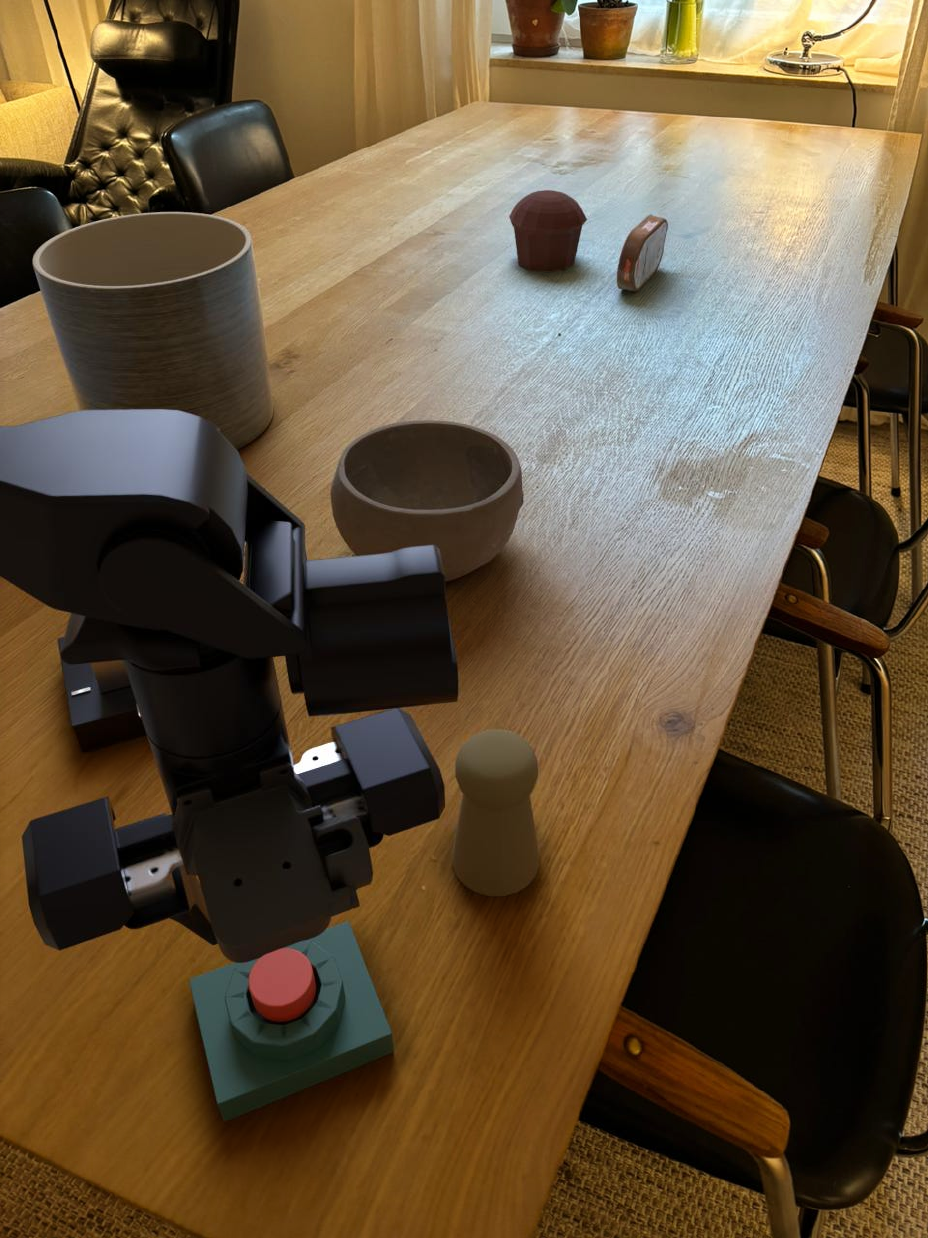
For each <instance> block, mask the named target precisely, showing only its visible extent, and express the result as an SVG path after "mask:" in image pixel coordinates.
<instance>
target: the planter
mask: <svg viewBox="0 0 928 1238" xmlns="http://www.w3.org/2000/svg"><path fill="white" fill-rule="evenodd" d="M32 267H33V270H34V273H35V277H36V280H37V284H38V286H39V289H40V290H39V291H40V293H41V296H42V299H43V303H44V306H45V309H46V312H47V315H48V318H49V319H48V320H49V322H50V325H51V328H52V332H53V335H54V339H55V342H56V344H57V348H58V351H59V353H60V357H61V360H62V363H63V366H64V369H65V372H66V374H67V378H68V380H69V383H70V386H71V389H72V392H73V396H74V399H75V402H76V404H77V408H78V411H79V410H130V409H166V410H178V411H183V412H186V413H190V414H193V415H196V416H200V417H202V418H204V419H205V420H207V421H209V422H211V423H213V424H215V425H216V426H217V427H218V428H219V430H220V433H221V434H222V435H223V436H224V437H225V438H226V439H227V440H228V441H229V442H230V443H231V444H232V445H233V447H234V448H235V449H236V450H237V451H238V450H240V449H242V448H243V447H245V446H247V445H248V444H250V443H251V442H253V441H255V440H256V439H257V438H258V437H260V435H262V433H264V431H265V430H266V429H267V428H268V426H269V425H270V423H271V421H272V420H273V419H272V418H273V416H274V399H273V392H272V386H271V376H270V368H269V360H268V359H269V358H268V350H267V341H266V333H265V325H264V317H263V308H262V302H261V301H262V300H261V293H260V287H259V286H260V285H259V279H258V271H257V264H256V256H255V251H254V242H253V237H252V235H251V233H250V231H249V230H248V228H246V227H245V226H243V225H242V224H240V223H239V222H236V221H234V220H232V219H229V218H226V217H222V216H218V215H213V214H207V213H206V214H205V213H199V212H187V211H186V212H184V211H160V212H144V213H143V212H142V213H133V214H127V215H126V214H125V215H120V216H114V217H110V218H105V219H100V220H96V221H92V222H89V223H85V224H82V225H79V226H76V227H74V228H71V229H68V230H66V231H63V232H61V233H59V234H57V235H55V236H54V237H52V238H50V239H49V240H47V241H45V242H44V243H43V244H41V245H40V246H39V247H38V249H37V250H36V251H35V252H34V254H33V257H32Z"/></svg>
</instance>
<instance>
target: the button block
mask: <svg viewBox="0 0 928 1238" xmlns="http://www.w3.org/2000/svg"><path fill="white" fill-rule="evenodd" d="M284 948H287V949H294V950H297V951H299V952H301V953H302V954H304V955H305V956H306V957H307V958H308V959H309V961H310V963H311V965H312V969H313V973H314V978H315V983H316V994H315V998H314V1000H313V1002H312V1004H311V1006H310V1007H309V1008H308V1010H307V1011H306V1012H305V1013H304V1014H302V1015H301V1016H299V1017H298V1018H296V1019H294V1020H291V1021H287V1022H273V1021H270V1020H267V1019H265V1018H264V1017H262V1016H261V1015H260V1014H259V1013H258V1012H257V1010H256V1009H255V1006H254V1004H253V1000H252V997H251V993H250V990H249V985H248V980H249V975H250V972H251V970H252V968H253V966H254V965H255V963H256V962H257V961H258V960H259V959H260V958H261V957H262V956H261V957H260V958H258V959H255V960H252V961H249V962H245V963H236V962H232V963H230V964H227V965H223V966H221V967H217V968H215V969H213V970H211V971H208V972H205V973H202V974H200V975H199V974H198V975H197V976H194V977H192V978H189V979H188V984H189V987H190V991H191V996H192V1001H193V1006H194V1009H195V1014H196V1018H197V1023H198V1027H199V1031H200V1035H201V1040H202V1044H203V1049H204V1053H205V1057H206V1061H207V1065H208V1070H209V1073H210V1074H209V1075H210V1079H211V1084H212V1088H213V1092H214V1096H215V1101H216V1105H217V1107H218V1110H219V1113H220V1115H221V1118H222V1120H223V1122H224V1123H225V1122H228V1121H231V1120H234V1119H235V1118H238V1117H241V1116H243V1115H245V1114H248V1113H250V1112H253V1111H255V1110H258V1109H260V1108H262V1107H265V1106H267V1105H269V1104H272V1103H274V1102H277V1101H279V1100H281V1099H284V1098H287V1097H289V1096H292V1095H294V1094H296V1093H299V1092H301V1091H303V1090H306V1089H308V1088H310V1087H311V1088H312V1087H313V1086H315V1085H318V1084H320V1083H323V1082H325V1081H327V1080H330V1079H332V1078H334V1077H337V1076H340V1075H342V1074H344V1073H347V1072H349V1071H352V1070H354V1069H356V1068H359V1067H361V1066H364V1065H366V1064H368V1063H372V1062H374V1061H376V1060H379V1059H382V1058H383V1057H386V1056H388V1055H390V1054H393V1053H395V1048H394V1047H395V1046H394V1038H393V1032H392V1030H391V1027H390V1025H389V1022H388V1020H387V1016H386V1014H385V1012H384V1009H383V1006H382V1004H381V1001H380V999H379V996H378V993H377V991H376V988H375V985H374V982H373V979H372V977H371V975H370V973H369V970H368V967H367V965H366V962H365V960H364V957H363V953H362V952H361V949H360V946H359V943H358V941H357V938H356V936H355V934H354V931H353V928H352V925H351V923H350V921H349V920H346V921H344V922H341V923H339V924H336V925H333V926H330V927H327V928H326V930H325V931H324V932H323V933H321V934H320V935H318V936H316V937H314V938H312V939H309V940H306V941H300V942H298V943H295V944H292V945H290V946H287V947H284ZM281 949H283V948H281ZM263 956H264V955H263Z"/></svg>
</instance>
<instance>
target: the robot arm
mask: <svg viewBox="0 0 928 1238" xmlns="http://www.w3.org/2000/svg"><path fill="white" fill-rule="evenodd" d="M242 574H243V582H241V581H240V580H241V577H242ZM0 578H2V579H4V580H5V581H6V582H8V583H10V584H11V585H13V586H15V587H16V588H18V589H20V590H21V591H23V592H24V593H26V594H28V595H29V596H31V597H32V598H34V599H36V600H37V601H39V602H41V603H42V604H43V605H45V606H47V607H48V608H50V609H53V610H56V611H59V612H64V613H69V614H70V615H69V618H68V621H67V626H66V629H65V632H64V636H63V637H64V640H63V644H62V647H61V651H60V653H59V658H61V659H60V661H61V660H62V661H63V662H64V663H66V664H69V665H75V664H85V663H95V662H105V661H116V660H123V662H124V665H125V668H126V671H127V674H128V677H129V681H130V684H131V687H132V690H133V693H134V696H135V699H136V702H137V705H138V708H139V712H140V715H141V718H142V721H143V724H144V727H145V731H146V734H147V735H146V737H147V740H148V743H149V746H150V750H151V753H152V756H153V759H154V762H155V765H156V768H157V771H158V774H159V777H160V780H161V783H162V786H163V789H164V792H165V795H166V799H167V801H168V805H169V807H170V811H171V813H170V814H167V813H166V812H164V813H160V814H157V815H154V816H151V817H147V818H144V819H141V820H137V821H136V822H132V823H128V824H126V825H123V826H120V827H117V828H116V825H115V821H116V818H117V817H116V813H115V809H114V806H113V804H112V800H111V798H110V796H109V795H107V796H105V797H100V798H97V799H95V800H91V801H87V802H85V803H81V804H78V805H75V806H72V807H69V808H66V809H62V810H58V811H55V812H51V813H48V814H45V815H42V816H39V817H36V818H34V819H31V820H30V821H29V823H28V825H27V826H26V828H25V830H24V831H23V833H22V835H21V843H22V851H23V863H24V871H25V872H24V873H25V881H26V882H25V883H26V892H27V901H28V907H29V911H30V914H31V918H32V922H33V925H34V927H35V929H36V931H37V932H38V934H39V936H40V938H41V940H42V942H43V944H44V945H45V946H47V947H49V948H52V949H55V950H57V951H63V950H66V949H68V948H71V947H75V946H77V945H80V944H84V943H86V942H88V941H92V940H94V939H98V938H100V937H103V936H106V935H109V934H112V933H114V932H117V931H120V930H121V929H122V928H123V927H125V928H127V929H129V930H133V931H135V930H140V929H143V928H146V927H148V926H151V925H155V924H157V923H160V922H162V921H166V920H172V921H174V922H176V923H177V924H180V925H182V926H183V927H185V928H186V929H187V930H189V931H190V932H192V933H193V934H195V935H196V936H198V937H199V938H200V939H202V940H204V941H205V942H206V943H208V944H210V945H211V946H216V945H218V947H219V949H220V952H221V954H222V955H223V956H224V957H225V958H226V959H227V960H229V961H230V962H232V963H235V962H236V963H245V962H249V961H252V960H255V959H258V958H260V957H261V956H263V955H265V954H268V953H271V952H273V951H276V950H279V949H281V948H284V947H287V946H290V945H292V944H295V943H298V942H300V941H306V940H309V939H312V938H314V937H316V936H318V935H320V934H321V933H323V932H324V931H325V930H326V929H327V928H329V925H330V924H331V921H332V917H335V916H337V915H340V914H343V913H346V912H348V911H351V910H354V909H356V908H359V907H361V905H360V900H359V896H358V893H357V890H359V889H361V888H364V887H367V886H370V885H371V884H372V882H373V879H374V868H373V863H372V856H371V850H370V849H371V848H375V847H377V846H379V845H380V843H381V842H382V841H383V838H384V836H387V837H391V836H394V835H396V834H399V833H402V832H404V831H408V830H411V829H413V828H417V827H420V826H423V825H425V824H428V823H430V822H433V821H437V820H440V817H441V816H442V815H443V812H444V810H445V809H446V790H445V788H446V787H445V782H444V779H443V775H442V772H441V768H440V767H439V765H438V763H437V761H436V760H435V758H434V756H433V754H432V751H431V749H429V746H428V745H427V742H426V741H425V739H424V736H422V734H421V732H420V730H419V728H418V726H417V724H416V722H415V721H414V718H413V716H412V715H411V713H408V712H406V711H405V710H403V709H402V708H413V707H421V706H431V705H432V706H433V705H440V704H441V705H442V704H449V703H450V704H451V703H457V702H458V700H459V667H458V666H459V665H458V660H457V654H456V650H455V644H454V639H453V633H452V629H451V623H450V617H449V612H448V605H447V597H446V582H445V575H444V570H443V565H442V560H441V555H440V550H439V548H438V547H437V546H435V545H426V546H415V547H407V548H402V549H399V550H396V551H392V552H389V553H383V554H373V555H362V556H357V555H353V556H341V557H331V558H329V557H328V558H320V559H319V558H318V559H308V556H307V549H306V525H305V523H304V521H302V520H301V519H300V518H299V516H297V515H296V514H294V512H292V510H290V509H289V508H288V507H287V506H286V505H284V504H283V503H282V502H281V501H279V500H278V499H277V498H276V497H275V496H274V495H273V494H271V493H270V492H269V491H268V490H267V489H266V488H265V487H263V486H262V485H261V484H260V483H259V482H257V480H255V479H254V478H253V477H252V476H251V475H250V474H249V473H247V468H246V466H245V464H244V462H243V459H242V458H241V455H240V453H239V451H238V449H237V450H236V449H235V448H234V447H233V445H232V444H231V443H230V442H229V441H228V440H227V439H226V438H225V437H224V436H223V435H222V434H221V433H220V430H219V428H218V427H217V426H216V425H215V424H213V423H211V422H209V421H207V420H205V419H204V418H202V417H200V416H196V415H193V414H190V413H186V412H183V411H178V410H166V409H130V410H79V409H78V410H74V411H71V412H68V413H62V414H59V415H55V416H50V417H46V418H42V419H39V420H34V421H30V422H27V423H22V424H17V425H0ZM279 657H285V666H286V673H287V678H288V684H289V689H290V692H291V694H292V695H299V694H300V695H301V694H302V695H303V697H304V703H305V708H306V711H307V716H308V717H310V718H312V717H320V716H322V717H328V716H335V715H336V716H337V715H346V714H354V713H355V714H357V713H365V712H374V711H375V712H376V711H379V712H376V713H373V714H370V715H367V716H364V717H360V718H357V719H353V720H351V721H346V722H344V723H341V724H337V725H335V726H331V727H330V733H331V738H332V740H331V742H328V743H325V744H322V745H319V746H315V747H312V748H309V749H307V750H306V751H304V753H303V754H302V756H301V759H300V761H299V762H298V763H296V764H295V763H294V759H293V755H292V749H291V743H290V738H289V732H288V728H287V723H286V718H285V712H284V706H283V702H282V696H281V690H280V686H279V681H278V675H277V670H276V665H275V660H274V659H275V658H279Z"/></svg>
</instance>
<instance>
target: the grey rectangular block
mask: <svg viewBox="0 0 928 1238" xmlns="http://www.w3.org/2000/svg"><path fill="white" fill-rule="evenodd" d="M91 666H92V669H93V671H94V674H95V677H96V680H97V683H98V686H99V689H100V692H101V693H104V692H108V691H111V690H115V689H118V688H122V687H126V686H129V685H131V684H130V681H129V677H128V674H127V671H126V668H125V665H124V662H123V660H116V661H105V662H95V663H91Z"/></svg>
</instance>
